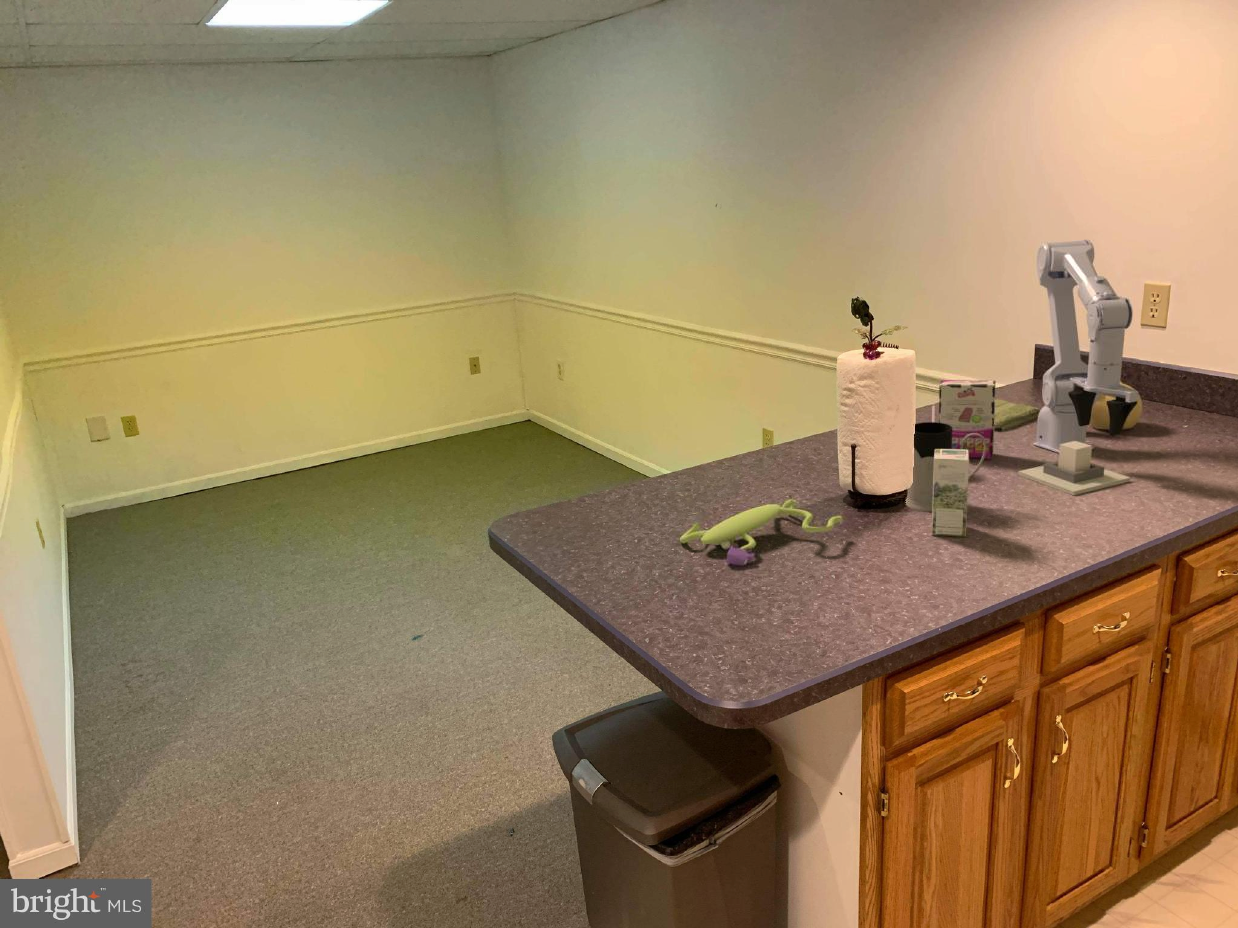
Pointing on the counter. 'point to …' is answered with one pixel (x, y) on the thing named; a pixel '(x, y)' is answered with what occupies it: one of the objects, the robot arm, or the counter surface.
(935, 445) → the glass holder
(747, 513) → the figurine
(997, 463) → the counter surface
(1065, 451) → the block
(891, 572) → the counter surface
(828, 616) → the counter surface
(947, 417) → the candy bar box
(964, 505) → the syrup box
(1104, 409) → the sculpture
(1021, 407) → the washcloth
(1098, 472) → the charging dock
